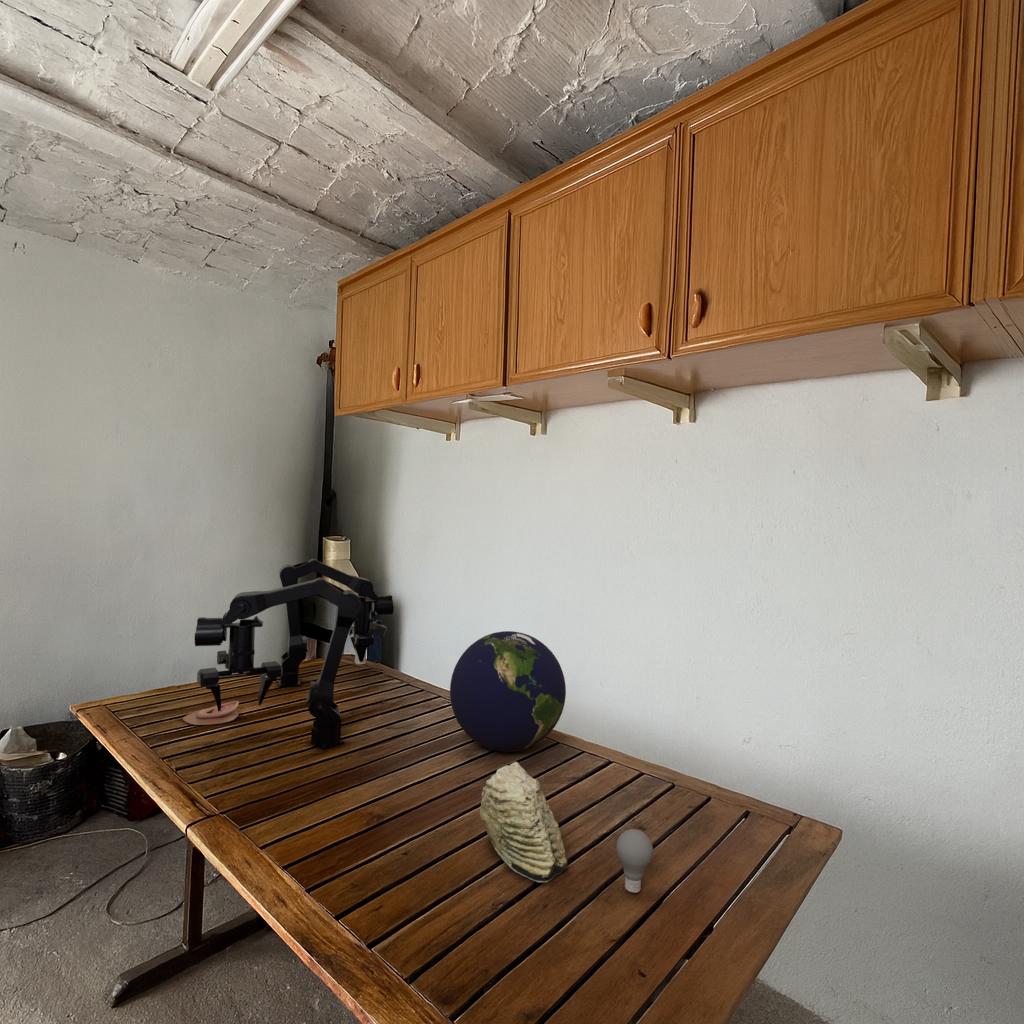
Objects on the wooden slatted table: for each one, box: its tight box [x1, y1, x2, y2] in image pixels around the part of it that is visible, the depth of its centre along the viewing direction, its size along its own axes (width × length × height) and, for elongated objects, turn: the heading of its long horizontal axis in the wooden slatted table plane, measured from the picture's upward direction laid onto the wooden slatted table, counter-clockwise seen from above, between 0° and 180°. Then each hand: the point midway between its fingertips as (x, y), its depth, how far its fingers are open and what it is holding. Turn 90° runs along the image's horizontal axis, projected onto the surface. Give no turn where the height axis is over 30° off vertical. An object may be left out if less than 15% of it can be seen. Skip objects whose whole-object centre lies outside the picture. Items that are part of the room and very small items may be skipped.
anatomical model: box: [182, 700, 240, 726], centre depth 176 cm, size 13×4×12 cm
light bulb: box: [615, 828, 654, 894], centre depth 106 cm, size 6×6×10 cm
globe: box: [449, 630, 567, 753], centre depth 164 cm, size 30×30×30 cm
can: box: [354, 649, 367, 665], centre depth 219 cm, size 4×4×5 cm
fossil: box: [479, 761, 569, 883], centre depth 114 cm, size 9×18×15 cm, turn 46°
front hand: (239, 707), depth 155 cm, fingers open, 9 cm apart
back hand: (360, 660), depth 219 cm, fingers closed on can, 4 cm apart
